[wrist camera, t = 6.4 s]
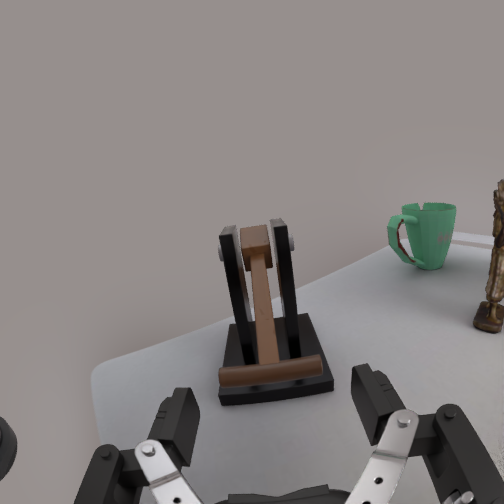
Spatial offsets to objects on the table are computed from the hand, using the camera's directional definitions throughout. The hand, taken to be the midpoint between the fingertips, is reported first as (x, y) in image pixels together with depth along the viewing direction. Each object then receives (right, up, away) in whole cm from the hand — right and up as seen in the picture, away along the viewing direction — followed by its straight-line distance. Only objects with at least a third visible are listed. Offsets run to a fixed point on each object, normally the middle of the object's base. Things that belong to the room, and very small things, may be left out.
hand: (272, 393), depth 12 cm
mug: (+27, +4, +27) cm, 38 cm away
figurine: (+25, -1, +8) cm, 26 cm away
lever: (0, +3, +7) cm, 8 cm away
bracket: (+1, -3, +13) cm, 13 cm away
